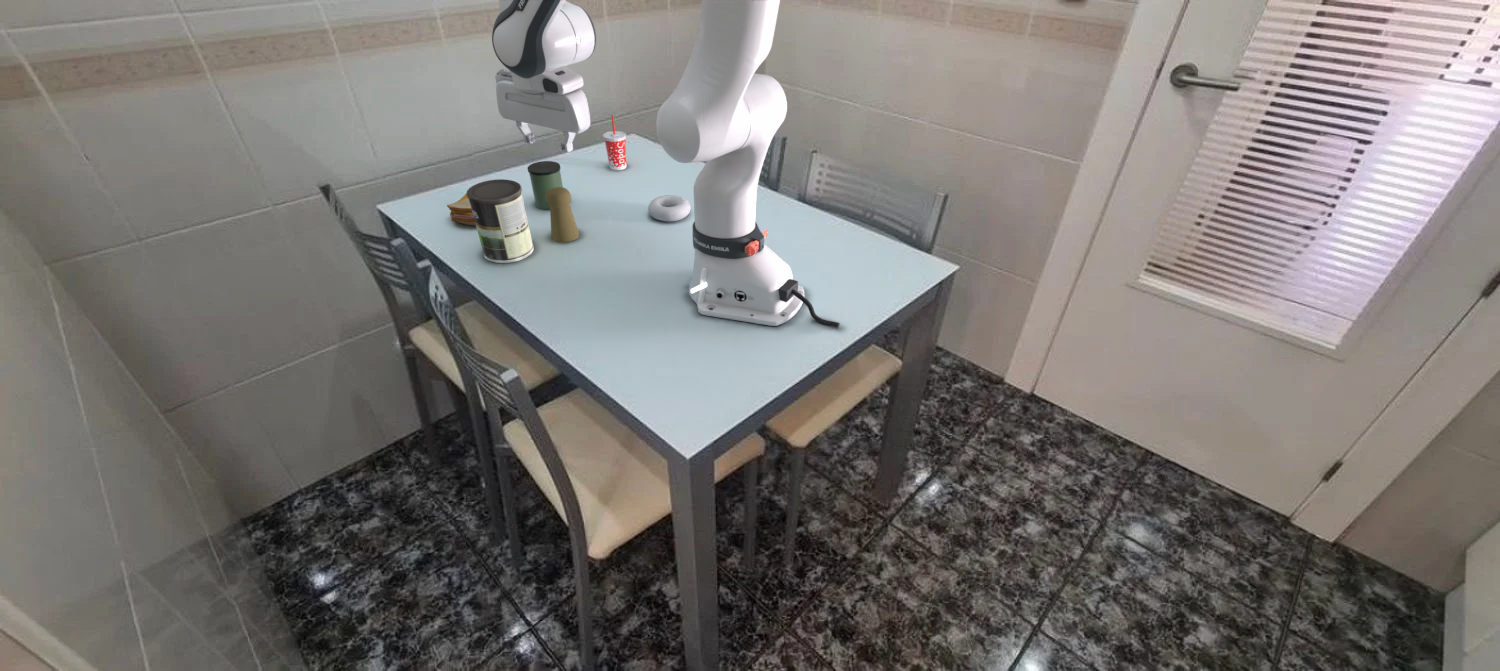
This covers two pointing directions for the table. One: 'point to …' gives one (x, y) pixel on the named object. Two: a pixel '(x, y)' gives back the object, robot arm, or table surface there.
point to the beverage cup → (616, 148)
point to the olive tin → (544, 180)
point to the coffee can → (501, 220)
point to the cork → (561, 215)
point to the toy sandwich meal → (462, 211)
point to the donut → (669, 208)
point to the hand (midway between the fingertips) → (548, 146)
